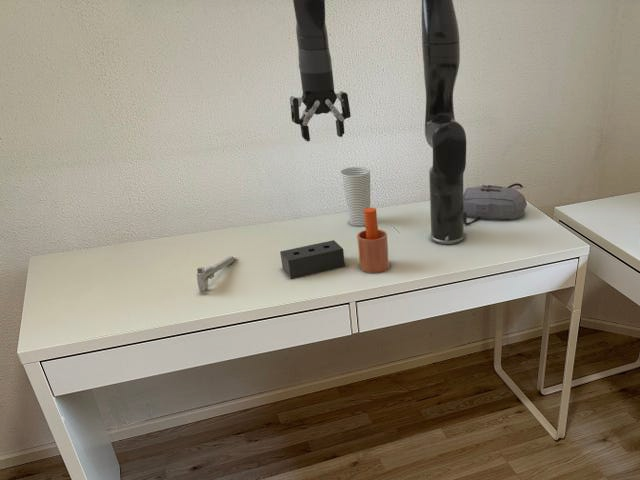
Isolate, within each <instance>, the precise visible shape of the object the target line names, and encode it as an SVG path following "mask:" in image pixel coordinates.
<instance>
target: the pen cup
mask: <svg viewBox="0 0 640 480" xmlns="http://www.w3.org/2000/svg"><path fill="white" fill-rule="evenodd" d="M356 239H357V248H358V249H357V250H358V258H359V259H358V260H359V267H360V270H361V271H362V272H365V273H367V274H378V273H384V272H385V271H387V270H388V269H389V268H390V258H389V257H390V256H389V244H388V243H389V242H388V233H387V232H386V231H385V230H382V229H379V228H378V239H374V240H367V238H366V229H364V230H361V231H359V232H358V233H357V235H356Z"/></svg>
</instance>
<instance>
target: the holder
mask: <svg viewBox="0 0 640 480" xmlns="http://www.w3.org/2000/svg"><path fill="white" fill-rule="evenodd" d="M279 254H280V261H281V266H282V270H283V271H284V273H285V274H286V275H287V276H288V277H289V278H290V279H291V280H292V279H296V278H301V277H305V276H310V275H314V274H318V273H323V272H326V271H332V270H335V269H339V268H344V267H346V263H345V253H344V248H343V247H342V246H341V245H340V244H339V243H337V242H336V241H335V240H334V239H333V240H329V241H324V242H319V243H313V244H308V245H305V246H300V247H295V248H289V249H286V250H281V251H279Z"/></svg>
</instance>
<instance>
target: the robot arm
mask: <svg viewBox="0 0 640 480" xmlns="http://www.w3.org/2000/svg"><path fill="white" fill-rule="evenodd" d="M292 2H293V3H292V4H293V9H294V15H295V16H294V17H295V21H296V22H295V35H296V42H297V50H298V52H297V53H298V55H297V57H298V69H299V75H300V82H301V90H302V96H298V97H297V96H296V97H295V96H290V97H289V104H290V115H291V122H293V123H294V124H295V125H299V127H300V133H301V137H302V139H304V141H305V142H311V136H310V135H311V134H310V127H309V125H308V124H309V123H310V120H311V119H312V118H313V116H314V115H317V116H318V115H322V114H329V113H331V114H332V115H333V117H335V128H336V135H337V137H339V138H342V137H343V136H344V135H345V120H346V119H350V118H351V117H352V115H351V107H350V102H349V95H348V93H347V92H346V91H342V90H341V91H339V92H335V83H334V82H335V81H334V74H333V65H332V64H333V62H332V57H331V52H330V46H329V37H328V29H327V28H328V27H327V23H326V0H292ZM460 43H461V42H460V31H459V24H458V19H457V14H456V10H455V5H454V1H453V0H421V47H422V49H421V50H422V63H423V77H424V86H425V87H424V88H425V115H424V117H425V118H424V138H425V140H426V143H427V144H428V146H429V147H430V148H431V149H432V166H431V167H430V168H429V171H428V173H429V174H428V176H429V177H428V178H429V179H428V180H429V206H430V208H429V210H430V239H431V241H432V242H434V243H436V244H440V245H455V244H458V243H461V242H462V241H463V240H464V239H465V228H464V227H465V226H470V225H471V224H474V223H476V222H477V221H479V220H481V219H480V217H478V218H475V219H473V220H472V221H470V222H468V216H467V212H464V204H463V195H464V173H465V170H466V167H467V166H466V165H467V134H466V131H465V128H464V127H463V125H462V124H461V123H460V122H458V121H457V120H456V118H455V109H454V108H455V107H454V90H455V85H456V81H457V78H458V73H459V69H460V61H461V60H460V59H461V57H460V56H461V48H460V47H461V46H460V45H461V44H460ZM337 100H338V102H340V107H341V108H340V109H341V113H340V111H339V110H338V108H337V107H336V106H335V103H336V102H337ZM302 104H304V106H305V108H304V109H303V111H302V115H301V116H300V107H301V106H302ZM517 186H519V187H520V188H523V187H524V186H523V185H522V184H521V183H518V182H517V183H513V184H510V185H508V186H507V187H508V188H511V189H512V188H513V187H517Z"/></svg>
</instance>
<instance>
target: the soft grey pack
mask: <svg viewBox="0 0 640 480" xmlns="http://www.w3.org/2000/svg"><path fill="white" fill-rule="evenodd" d="M463 204H464V212H467V217H469V218H473V219H474V218H475V219H476V218H478V217H480V219H479V220H489V221H494V220H495V221H500V220H514V219H517V218H521V217H522V216H523V215H524V214H525V210H526V208H527V206H528V203H527V200H526V197H525V195H524V194H523V193H522V192H520V191H519V190H517V189H514V188H512V187H511V188H508V186H500V185H499V186H498V185H491V184H489V185H486V184H485V185H484V184H482V185H479V186H473V187H467V188H466V189H465V191H463Z"/></svg>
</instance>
